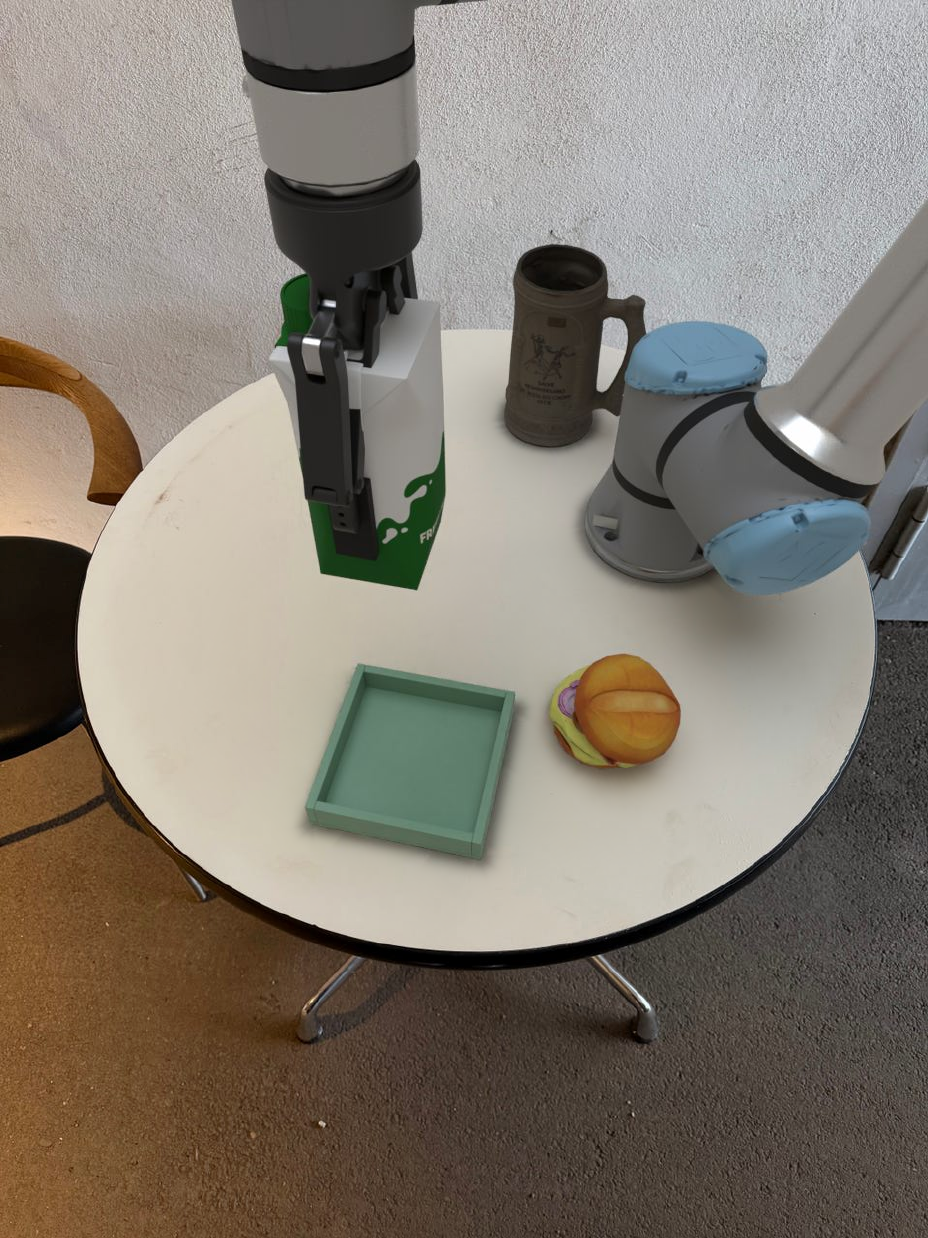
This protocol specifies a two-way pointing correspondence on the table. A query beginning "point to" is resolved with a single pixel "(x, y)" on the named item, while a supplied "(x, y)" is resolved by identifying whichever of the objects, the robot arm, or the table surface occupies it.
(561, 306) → the beer stein
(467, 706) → the tray
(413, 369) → the soya milk
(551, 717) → the cheeseburger
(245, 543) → the table surface
